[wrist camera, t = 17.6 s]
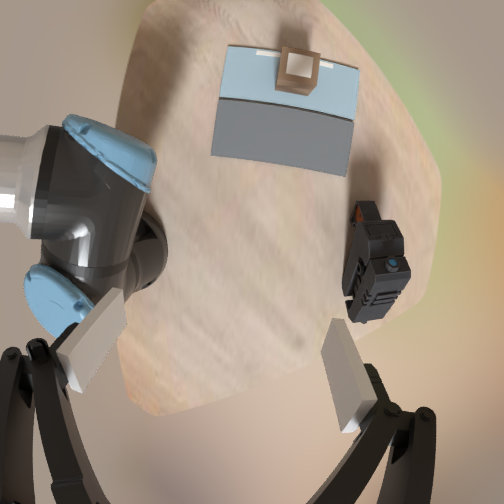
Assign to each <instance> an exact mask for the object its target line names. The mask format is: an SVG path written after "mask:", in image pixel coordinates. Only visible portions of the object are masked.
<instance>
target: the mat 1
mask: <svg viewBox="0 0 504 504" xmlns="http://www.w3.org/2000/svg"><path fill="white" fill-rule="evenodd" d="M280 56H281V52H278V51H271V50H263V49H255V48H244V47H230V46H228V50H227V55H226V60H225V66H224V71H223V77H222V83H221V89H220V95H219V97H225V98H236V99H246V100H254V101H262V102H269V103H276V104H282V105H288V106H294V107H299V108H304V109H309V110H314V111H318V112H323V113H327V114H332V115H336V116H340V117H343V118H347V119H351V120H355V112H356V104H357V95H358V85H359V74H360V70H357V69H354V68H350V67H347V66H343V65H340V64H336V63H332V62H328V61H324V60H320V64H319V72H318V81H317V86H316V87H315V88H314V89H313V91H312V92H311V93H310V94H309V95H308V96H303V95H298V94H293V93H287V92H281V91H275V86H276V79H277V72H278V66H279V60H280Z"/></svg>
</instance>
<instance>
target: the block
mask: <svg viewBox="0 0 504 504" xmlns="http://www.w3.org/2000/svg"><path fill="white" fill-rule="evenodd" d="M320 55H321V54H320V53H316V52H311V51H307V50H302V49H296V48H291V47H285V46H283V47H282V51H281V56H280V60H279V66H278V72H277V79H276V86H275V91H281V92H287V93H293V94H298V95H303V96H308V95H309V94H310V93H311V92H312V91H313V89H314V88H315V87H316V86H317V81H318V72H319V64H320Z"/></svg>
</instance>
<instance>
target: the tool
mask: <svg viewBox="0 0 504 504" xmlns="http://www.w3.org/2000/svg"><path fill="white" fill-rule="evenodd" d="M350 222H351V225H352V227H356V230H355V234H354V238H353V242H352V246H351V250H350V254H349V258H348V262H347V265H346V269H345V272H344V276H343V279H342V289H343V294H344V296H353V300H346V301H345V303H346V308H347V312H348V317H349V319H350V320H351V321H352V322H353V323H356V322H361V323H363V324H365V323H367V321H369V320H376V319H382V318H383V317H384V316H385V314H386V313H387V312H388V310H389V309H390V308H391V306H392V305H393V304H394V302H395V299H397V298H398V296H397V295H400V294H401V290H403V289H404V288H405V286H406V285H407V283H408V281H409V280H410V278H411V270H410V267H409V265H408V262H407V260H406V258H405V257H403V256H404V238H403V236H402V234H401V232H400V230H399V228H398V226H397V224H396V222H395V221H393V220H381V217H380V214H379V212H378V209H377V206H376V204H375V201H356V204H355V207H354V210H353V213H352V216H351V219H350Z"/></svg>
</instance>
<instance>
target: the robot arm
mask: <svg viewBox="0 0 504 504" xmlns="http://www.w3.org/2000/svg"><path fill="white" fill-rule="evenodd" d="M156 165H157V156H156V153H155V151H154V150H153V148H152V147H150V146H149V145H148V144H146V143H144V142H143V141H141V140H139V139H137V138H135V137H133V136H131V135H128V134H126V133H124V132H122V131H119V130H117V129H115V128H112V127H110V126H107V125H105V124H102V123H100V122H97V121H94V120H91V119H88V118H84V117H81V116H78V115H75V114H69V115H68V116H67V117H66V118H65V120H63V122H62V127H59V126H51V125H46V126H44V127H43V128H42V129H40V130H39V131H38V132H36V133H35V134H34V135H33V136H31V137H18V136H9V135H0V222H8V223H15V224H16V225H17V226H18V227H19V228H20V229H21V231H22V232H23V233H24V235H25V236H26V237H27V238H28V239H41V240H42V245H41V259H40V262H39V264H36V265H33V266H32V267H31V268H30V270H29V271H28V272H27V274H26V275H25V278H24V292H25V297H26V300H27V302H28V305H29V307H30V309H31V310H32V312H33V314H34V315H35V317H36V318H37V319H38V321H39V322H40V323H41V325H42V326H43V327H44V328H45V329H46V330H47V331H48V332H49V333H50V334H52V335H53V336H54V337H56V338H57V339H56V340H55V341H54V343H53V344H52V345H51V346H50V347H48V344H47V342H46V341H45V340H44V339H42V338H36V339H32V340H31V341H29V342H28V343H27V345H26V350H27V353H28V355H29V356H26V355H22V353H21V351H20V349H19V348H17V347H10V348H8V349H6V350H5V351H4V352H3V354H2V357H1V360H0V504H35V495H34V483H33V461H32V460H33V457H32V451H33V450H32V449H33V425H34V413H35V408H36V414H37V420H38V425H39V430H40V435H41V440H42V444H43V448H44V452H45V456H46V460H47V463H48V467H49V470H50V473H51V476H52V479H53V483H52V484H51V490H52V493H53V496H54V499H55V501H56V504H110V502H109V501H108V500H107V498H106V497H105V495H104V493H103V491H102V489H101V487H100V485H99V482H98V480H97V478H96V476H95V474H94V471H93V469H92V467H91V464H90V462H89V459H88V457H87V454H86V452H85V449H84V446H83V443H82V440H81V437H80V435H79V431H78V429H77V425H76V422H75V419H74V415H73V412H72V409H71V404H70V401H69V396H68V392H67V389H66V387H65V386H66V385H67V383H68V382H69V384H70V386H71V389H73V390H75V391H77V392H80V393H84V391H85V390H86V388H87V386H88V385H89V383H90V381H91V380H92V378H93V376H94V374H95V373H96V371H97V370H98V368H99V367H100V365H101V363H102V362H103V360H104V359H105V357H106V355H107V354H108V352H109V351H110V349H111V348H112V346H113V345H114V343H115V342H116V340H117V339H118V337H119V336H120V334H121V333H122V331H123V330H124V328H125V327H126V325H127V321H126V313H125V305H124V303H125V302H126V301H127V300H128V298H129V297H130V296H131V294H132V293H134V292H137V291H139V290H142V289H144V288H147V287H148V286H150V285H151V284H153V283H154V282H155V281H156V280H157V279H158V277H159V276H160V275H161V273H162V272H163V270H164V268H165V265H166V262H167V257H168V248H167V242H166V239H165V236H164V233H163V231H162V229H161V228H160V226H159V225H158V223H157V222H156V221H155V220H154V219H153V218H152V217H151V216H150V215H149V214H148V213H146V212H145V211H143V208H144V205H145V202H146V199H147V196H148V193H150V191H151V188H150V185H151V182H152V178H153V175H154V171H155V168H156ZM321 355H322V358H323V362H324V366H325V370H326V374H327V377H328V381H329V385H330V389H331V393H332V397H333V401H334V405H335V409H336V413H337V417H338V422H339V425H340V430H341V433H347V432H355V431H356V429H357V428H358V427H359V426H360V429H361V432H360V434H359V435H358V436H357V437H356V439H355V440H354V441H353V442H354V443H353V444H352V446H351V447H350V448H349V450H348V451H347V453H346V454H345V456H344V457H343V459H342V460H341V461H340V463H339V464H338V465H337V467H336V468H335V470H334V471H333V472H332V473H331V475H330V476H329V477H328V478H327V480H326V481H325V482H324V483H323V485H322V486H321V487H320V488H319V489H318V491H317V492H316V493H315V494H314V495H313V496H312V498H311V499H310V500H309V501H308V502H307V503H306V504H354V503H355V502H356V500H357V499H358V497H359V496H360V494H361V493H362V491H363V489H364V488H365V486H366V485H367V483H368V482H369V480H370V478H371V477H372V475H373V473H374V472H375V470H376V468H377V466H378V464H379V463H380V461H381V459H382V457H383V455H384V453H385V451H386V449H387V447H388V446H391V447H390V452H389V457H388V462H387V466H386V471H385V475H384V479H383V483H382V487H381V490H380V494H379V497H378V501H377V504H430V499H431V493H432V486H433V476H434V467H435V453H436V452H435V451H436V415H435V413H434V412H433V410H431V409H430V408H428V407H420V408H418V409H417V410H416V412H415V413H414V412H407V411H402V410H401V408H400V407H399V406H398V405H397V404H396V403H393V402H391V401H390V399H389V396H388V394H387V392H386V390H385V387H384V385H383V383H382V381H381V378H380V377H379V374H378V372H377V370H376V369H375V367H374V366H373V365H372V364H363V362H362V360H361V357H360V355H359V353H358V351H357V348H356V346H355V344H354V341H353V339H352V337H351V335H350V332H349V330H348V328H347V326H346V323H345V321H344V319H336V318H332V321H331V324H330V327H329V330H328V332H327V335H326V338H325V341H324V344H323V347H322V349H321Z"/></svg>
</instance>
